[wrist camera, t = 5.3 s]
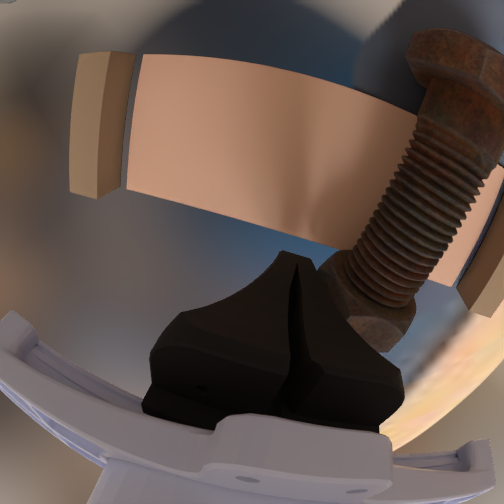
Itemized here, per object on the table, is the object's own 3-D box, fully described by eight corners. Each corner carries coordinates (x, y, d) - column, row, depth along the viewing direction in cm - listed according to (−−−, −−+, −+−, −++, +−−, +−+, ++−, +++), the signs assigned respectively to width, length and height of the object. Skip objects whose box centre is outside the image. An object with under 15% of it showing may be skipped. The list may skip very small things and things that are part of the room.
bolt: (309, 305, 17) (430, 65, 8) (371, 357, 15) (522, 122, 6) (246, 354, 13) (408, 2, 4) (326, 424, 10) (564, 91, 2)
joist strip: (477, 295, 12) (490, 317, 10) (93, 180, 14) (70, 191, 12) (530, 190, 9) (551, 203, 7) (105, 56, 10) (79, 54, 8)
